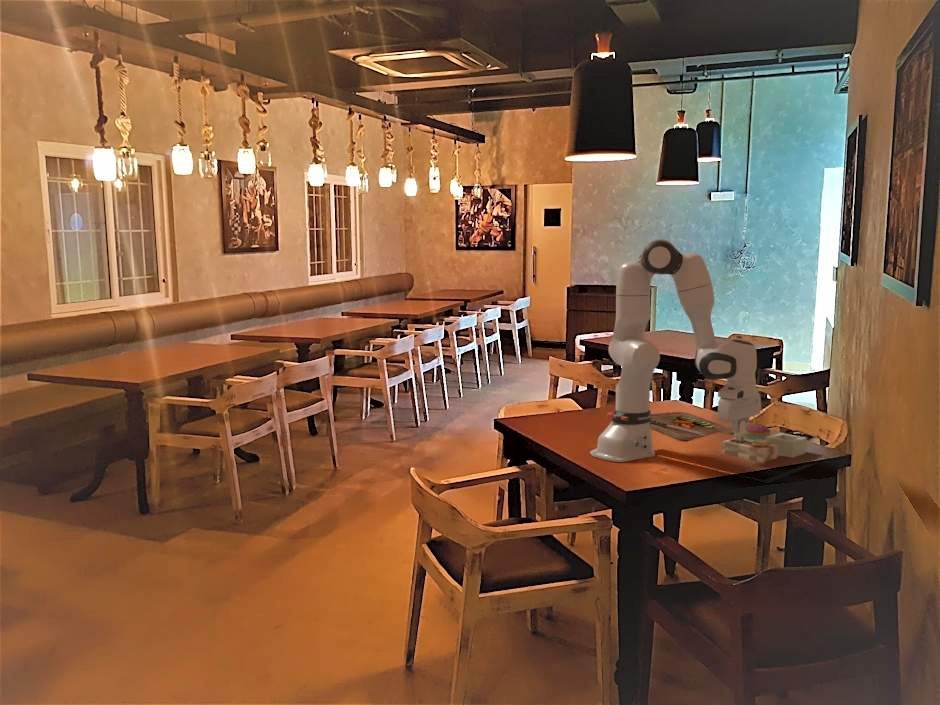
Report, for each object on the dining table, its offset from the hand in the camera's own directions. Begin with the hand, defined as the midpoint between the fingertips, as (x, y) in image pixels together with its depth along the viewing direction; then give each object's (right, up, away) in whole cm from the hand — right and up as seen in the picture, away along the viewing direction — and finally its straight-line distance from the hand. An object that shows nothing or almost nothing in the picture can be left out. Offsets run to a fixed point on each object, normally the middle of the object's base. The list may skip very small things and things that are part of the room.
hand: (739, 431), depth 242 cm
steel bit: (0, -7, +1) cm, 7 cm away
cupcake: (+11, -6, +16) cm, 20 cm away
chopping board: (-6, -3, +42) cm, 43 cm away
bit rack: (+16, -8, +1) cm, 18 cm away
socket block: (+3, -9, -2) cm, 9 cm away
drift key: (+5, -8, -5) cm, 11 cm away
